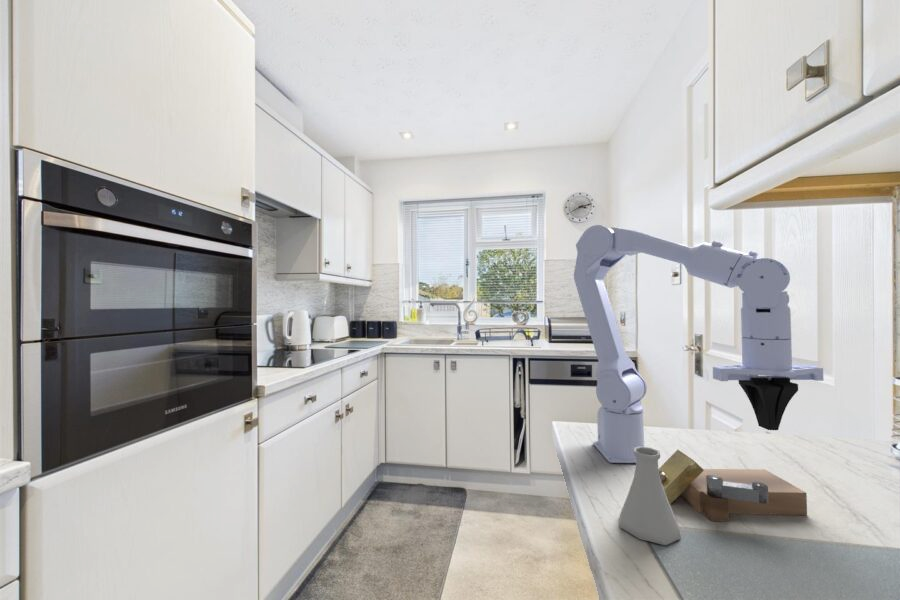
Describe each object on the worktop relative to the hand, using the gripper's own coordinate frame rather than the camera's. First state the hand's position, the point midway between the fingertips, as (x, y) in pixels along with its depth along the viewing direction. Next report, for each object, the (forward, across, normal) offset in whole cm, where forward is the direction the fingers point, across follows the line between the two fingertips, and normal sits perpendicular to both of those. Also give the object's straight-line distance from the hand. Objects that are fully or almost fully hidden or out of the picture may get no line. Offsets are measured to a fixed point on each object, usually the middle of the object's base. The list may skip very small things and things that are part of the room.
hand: (768, 428), depth 55 cm
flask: (+10, -22, -9) cm, 26 cm away
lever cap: (+7, -14, -1) cm, 16 cm away
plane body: (+10, -6, -2) cm, 12 cm away
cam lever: (+7, -10, -7) cm, 14 cm away
